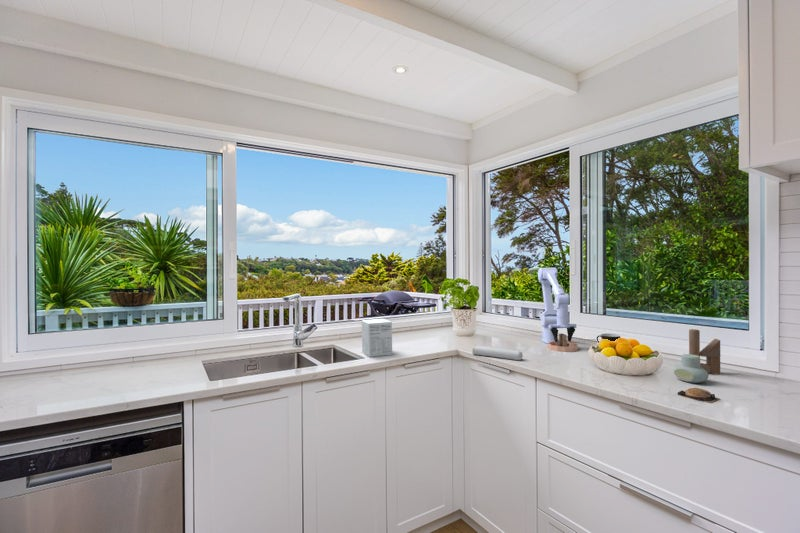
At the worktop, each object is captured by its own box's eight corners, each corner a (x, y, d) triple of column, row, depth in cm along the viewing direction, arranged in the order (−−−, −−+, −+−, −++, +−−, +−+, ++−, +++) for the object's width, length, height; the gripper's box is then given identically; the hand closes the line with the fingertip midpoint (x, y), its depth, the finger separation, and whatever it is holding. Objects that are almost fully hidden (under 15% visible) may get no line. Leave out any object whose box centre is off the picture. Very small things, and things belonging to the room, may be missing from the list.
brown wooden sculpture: (720, 374, 162) (720, 330, 162) (691, 373, 164) (691, 330, 164) (715, 371, 166) (715, 329, 166) (687, 371, 168) (686, 329, 168)
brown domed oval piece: (722, 401, 134) (722, 390, 134) (709, 405, 130) (709, 394, 130) (687, 392, 143) (687, 382, 143) (674, 396, 139) (674, 385, 139)
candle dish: (543, 346, 221) (543, 340, 221) (569, 345, 222) (569, 340, 222) (555, 352, 206) (555, 346, 206) (583, 351, 207) (583, 345, 207)
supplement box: (393, 354, 206) (392, 321, 206) (368, 357, 201) (368, 323, 201) (384, 349, 218) (384, 318, 218) (361, 352, 213) (361, 320, 213)
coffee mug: (624, 356, 194) (623, 336, 194) (606, 356, 194) (606, 336, 194) (611, 351, 206) (611, 332, 205) (595, 351, 206) (595, 332, 206)
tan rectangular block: (558, 346, 216) (558, 333, 216) (562, 346, 216) (562, 333, 216) (563, 348, 211) (563, 335, 211) (566, 348, 211) (566, 335, 211)
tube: (524, 351, 193) (476, 345, 207) (521, 349, 189) (473, 343, 203) (523, 362, 191) (475, 355, 206) (520, 361, 187) (471, 354, 201)
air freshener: (669, 378, 158) (669, 353, 158) (683, 376, 161) (683, 351, 161) (698, 386, 148) (698, 359, 147) (713, 383, 151) (712, 357, 150)
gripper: (552, 317, 209) (553, 343, 209) (579, 317, 210) (579, 342, 210) (547, 316, 216) (547, 340, 216) (572, 315, 217) (572, 339, 217)
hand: (562, 341), depth 214 cm, fingers open, 7 cm apart
